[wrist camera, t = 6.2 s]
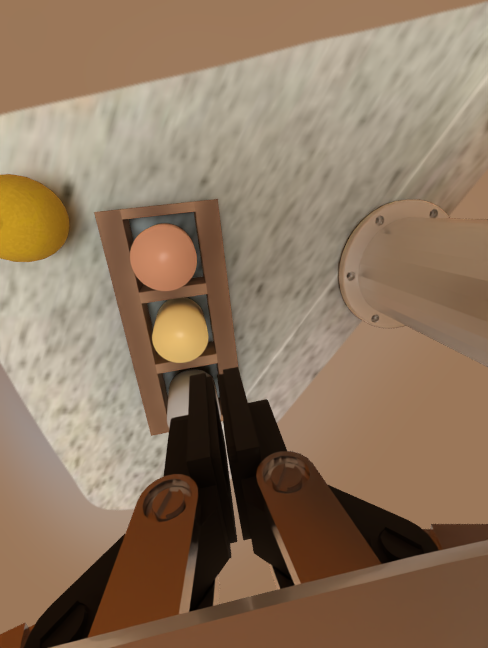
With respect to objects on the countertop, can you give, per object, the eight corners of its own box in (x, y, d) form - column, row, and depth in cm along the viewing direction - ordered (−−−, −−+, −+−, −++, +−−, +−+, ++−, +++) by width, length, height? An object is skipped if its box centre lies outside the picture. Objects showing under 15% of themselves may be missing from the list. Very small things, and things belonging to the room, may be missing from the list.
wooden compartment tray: (213, 200, 27) (217, 199, 24) (239, 399, 34) (244, 416, 31) (103, 212, 26) (94, 212, 23) (153, 416, 33) (151, 435, 30)
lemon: (77, 261, 26) (36, 281, 19) (1, 243, 25) (-74, 256, 18) (87, 193, 25) (47, 186, 18) (7, 169, 24) (-73, 150, 16)
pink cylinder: (189, 220, 25) (191, 221, 21) (198, 274, 27) (201, 286, 22) (132, 226, 24) (122, 229, 20) (144, 282, 26) (137, 295, 22)
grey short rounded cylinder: (212, 365, 30) (217, 390, 25) (218, 404, 31) (224, 433, 27) (164, 373, 29) (162, 400, 25) (173, 413, 31) (172, 444, 26)
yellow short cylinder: (200, 294, 29) (204, 307, 25) (207, 338, 30) (211, 357, 26) (151, 301, 28) (146, 316, 24) (161, 345, 30) (158, 367, 26)
